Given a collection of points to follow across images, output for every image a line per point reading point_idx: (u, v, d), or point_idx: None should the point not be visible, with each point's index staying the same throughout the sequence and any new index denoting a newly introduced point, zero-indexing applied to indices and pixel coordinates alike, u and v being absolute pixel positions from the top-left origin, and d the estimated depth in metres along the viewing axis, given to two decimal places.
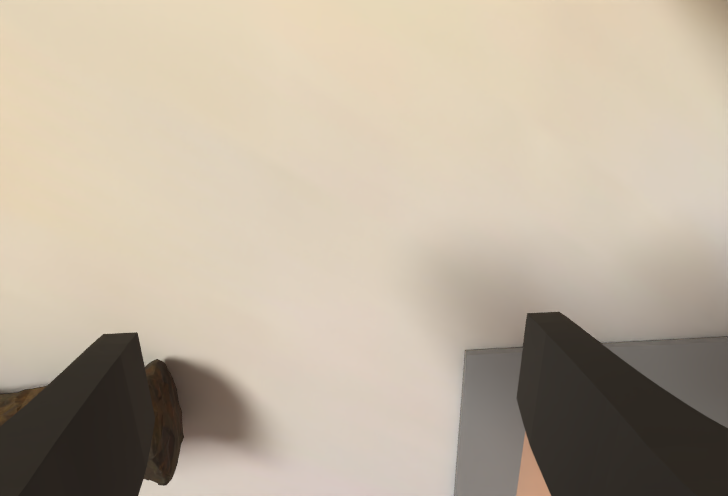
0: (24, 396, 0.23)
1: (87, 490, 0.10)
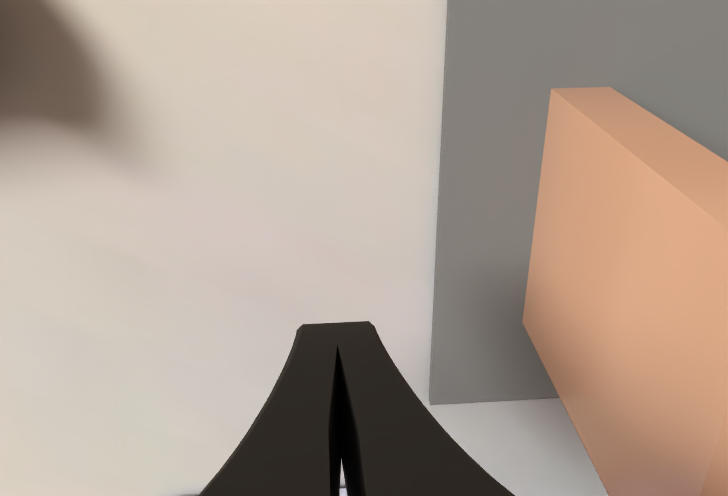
0: None
1: (332, 475, 0.10)
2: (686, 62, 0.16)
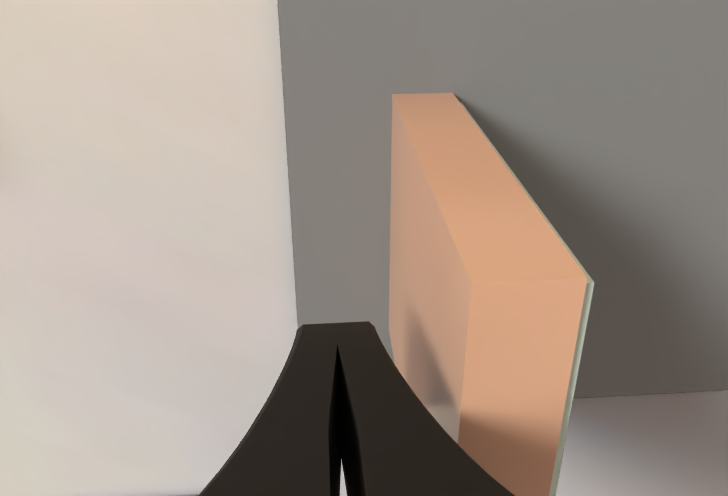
0: None
1: (332, 475, 0.10)
2: (528, 68, 0.16)
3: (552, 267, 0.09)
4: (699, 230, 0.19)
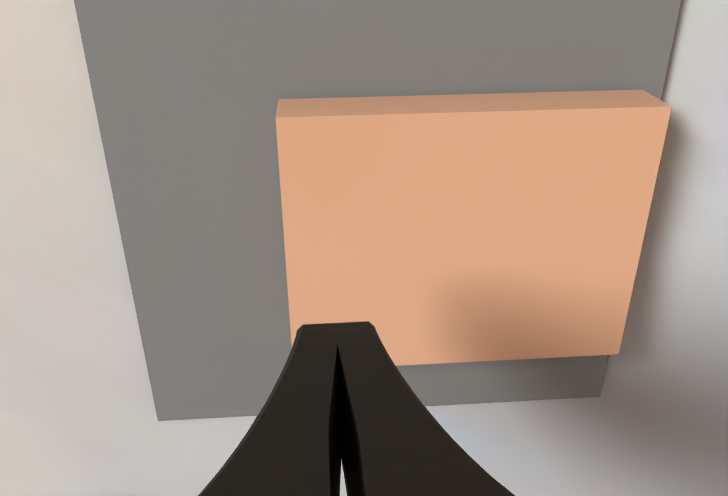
0: None
1: (332, 475, 0.10)
2: (345, 72, 0.16)
3: (637, 93, 0.16)
4: None
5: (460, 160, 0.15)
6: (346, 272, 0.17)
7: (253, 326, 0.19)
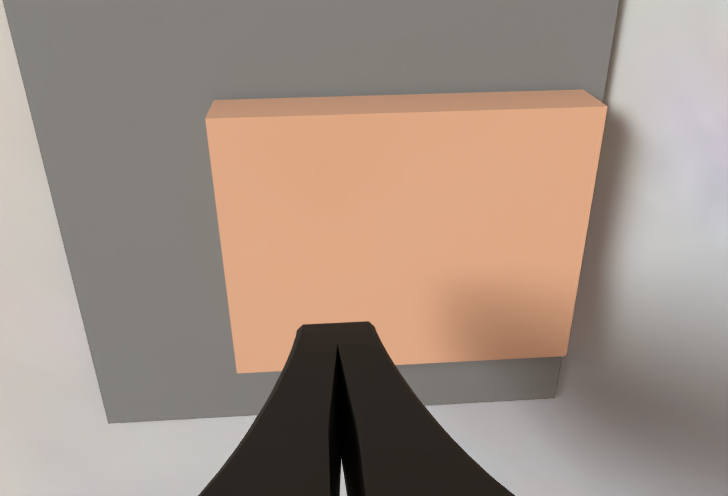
0: None
1: (332, 475, 0.10)
2: (281, 72, 0.16)
3: (577, 93, 0.16)
4: None
5: (395, 161, 0.15)
6: (285, 274, 0.16)
7: (200, 328, 0.19)
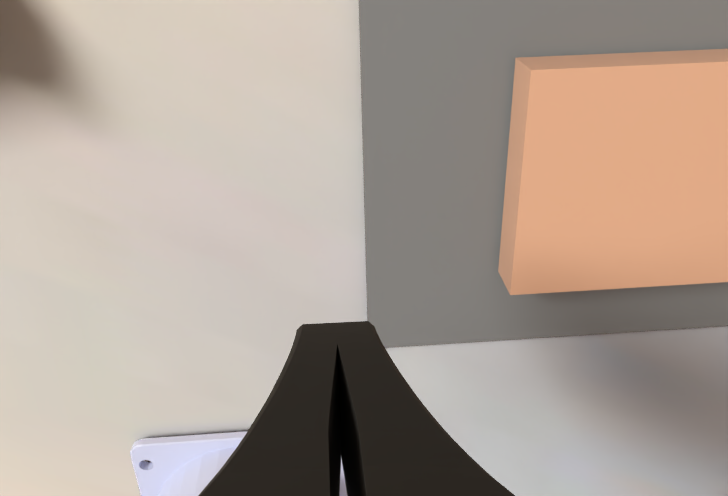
0: None
1: (332, 475, 0.10)
2: (571, 33, 0.19)
3: None
4: None
5: (677, 105, 0.18)
6: (568, 205, 0.19)
7: (462, 261, 0.22)
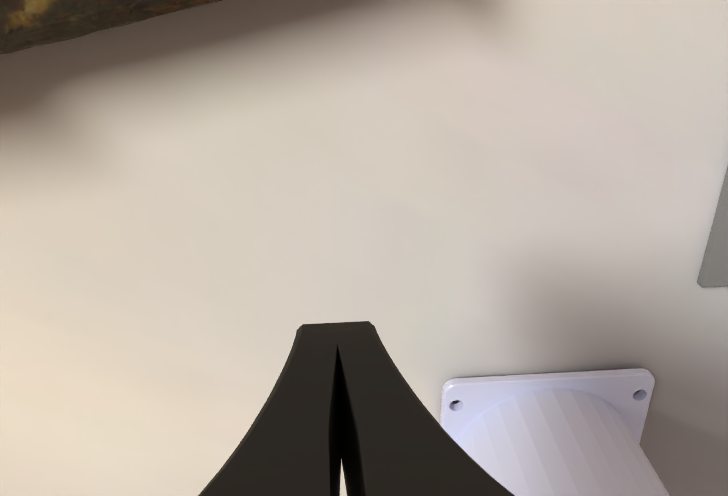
0: None
1: (332, 475, 0.10)
2: None
3: None
4: None
5: None
6: None
7: None
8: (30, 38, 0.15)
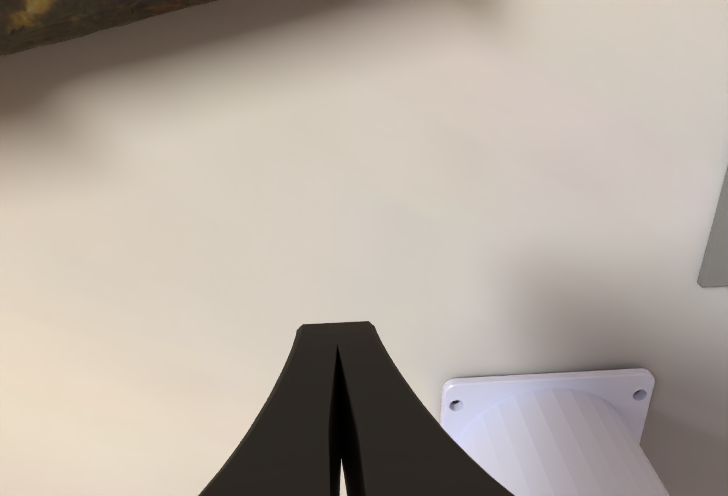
0: None
1: (332, 475, 0.10)
2: None
3: None
4: None
5: None
6: None
7: None
8: (32, 38, 0.15)
